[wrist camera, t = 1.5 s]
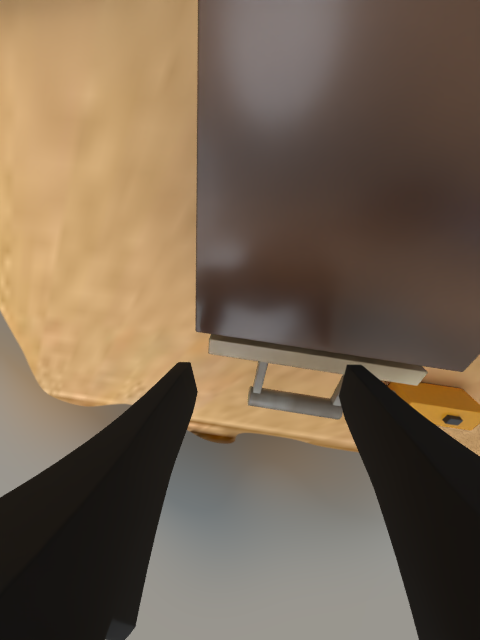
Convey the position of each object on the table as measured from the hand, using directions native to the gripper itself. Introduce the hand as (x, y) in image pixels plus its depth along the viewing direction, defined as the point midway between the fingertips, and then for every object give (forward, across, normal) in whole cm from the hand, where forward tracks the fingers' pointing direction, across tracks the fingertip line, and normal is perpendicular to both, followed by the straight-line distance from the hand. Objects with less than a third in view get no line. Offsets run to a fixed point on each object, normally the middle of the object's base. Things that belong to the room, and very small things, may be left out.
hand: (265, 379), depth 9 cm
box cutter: (+10, -16, +11) cm, 22 cm away
